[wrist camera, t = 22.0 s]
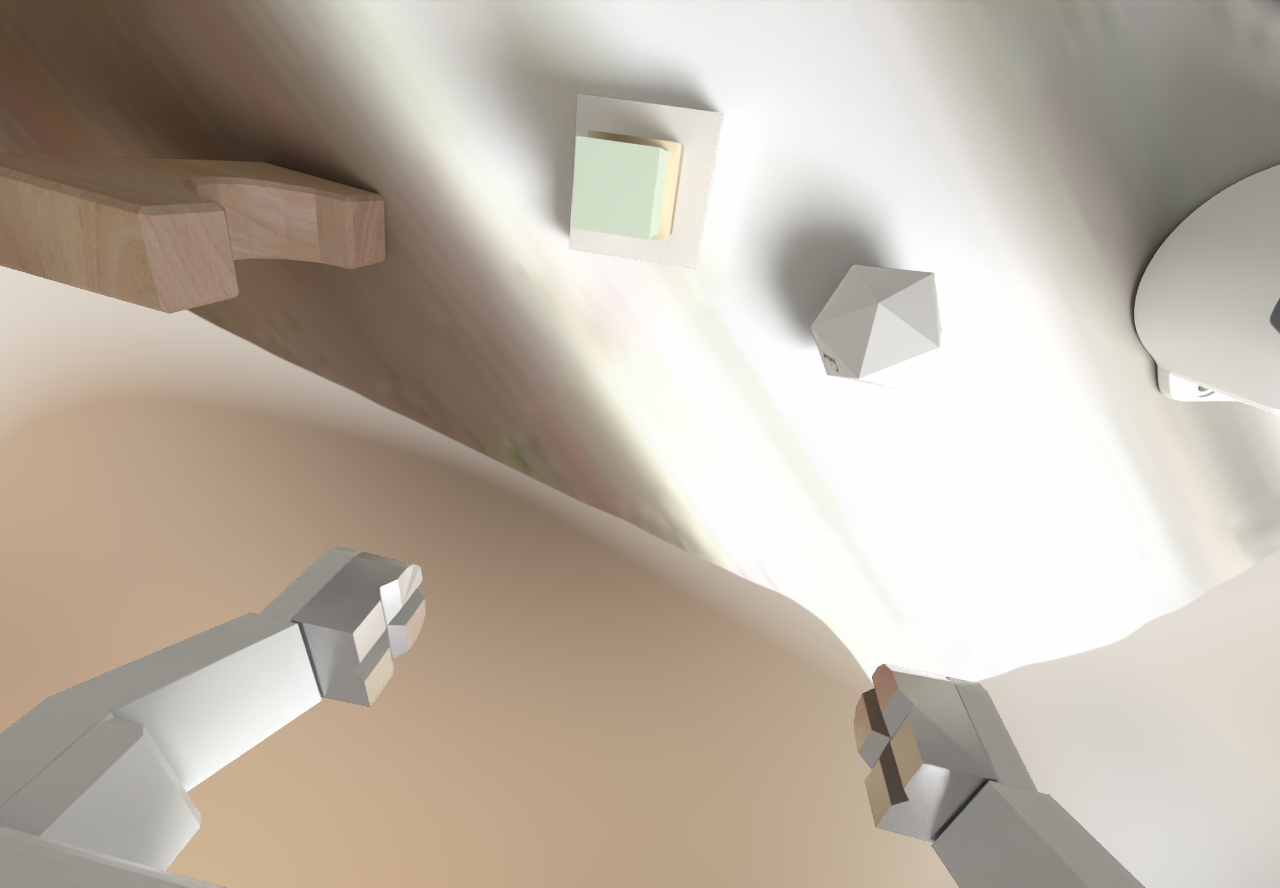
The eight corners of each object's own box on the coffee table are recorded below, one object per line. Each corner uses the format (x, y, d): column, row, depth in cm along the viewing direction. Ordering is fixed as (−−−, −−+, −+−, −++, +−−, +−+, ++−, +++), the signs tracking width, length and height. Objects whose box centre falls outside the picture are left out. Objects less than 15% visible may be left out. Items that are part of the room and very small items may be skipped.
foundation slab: (723, 117, 35) (723, 113, 33) (698, 263, 40) (696, 269, 38) (587, 99, 36) (577, 93, 34) (579, 244, 41) (569, 248, 38)
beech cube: (684, 147, 34) (678, 142, 29) (672, 232, 37) (664, 241, 32) (607, 136, 34) (588, 129, 30) (600, 221, 37) (581, 228, 32)
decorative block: (387, 196, 42) (144, 209, 24) (387, 264, 44) (169, 320, 27) (262, 158, 42) (-71, 144, 24) (270, 229, 44) (-23, 262, 27)
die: (821, 247, 39) (780, 338, 35) (953, 224, 33) (923, 329, 29) (845, 327, 45) (812, 413, 40) (962, 319, 39) (937, 419, 35)
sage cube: (668, 151, 30) (660, 147, 26) (658, 232, 32) (648, 239, 28) (595, 141, 30) (576, 135, 26) (590, 221, 32) (571, 227, 28)
